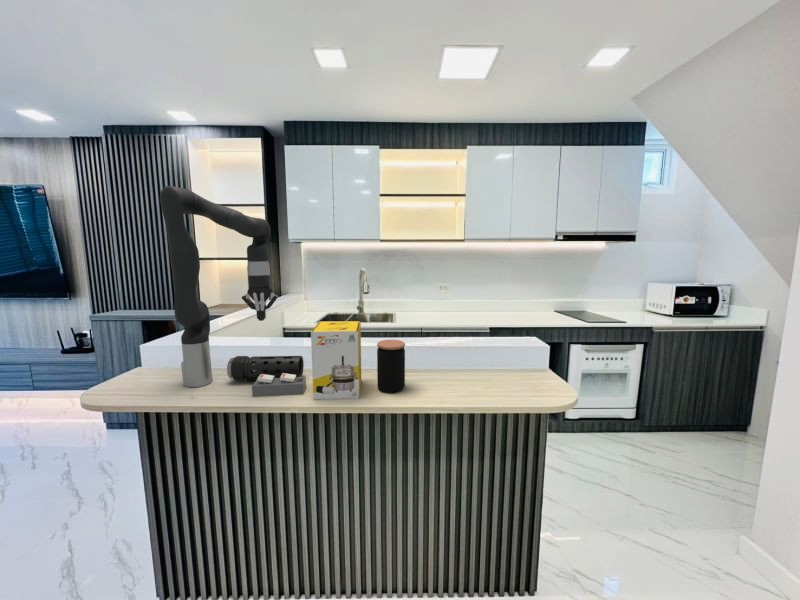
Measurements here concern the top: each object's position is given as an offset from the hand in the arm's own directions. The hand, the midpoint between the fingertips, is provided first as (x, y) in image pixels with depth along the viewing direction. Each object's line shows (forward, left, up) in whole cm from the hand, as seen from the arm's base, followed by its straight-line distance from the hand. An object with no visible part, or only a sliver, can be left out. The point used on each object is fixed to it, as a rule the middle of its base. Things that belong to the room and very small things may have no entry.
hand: (261, 320), depth 123 cm
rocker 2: (+9, -3, -22) cm, 24 cm away
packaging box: (+28, -4, -27) cm, 39 cm away
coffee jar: (+48, -5, -27) cm, 55 cm away
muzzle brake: (-2, +9, -27) cm, 29 cm away
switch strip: (+6, -3, -27) cm, 28 cm away
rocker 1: (+1, -3, -22) cm, 23 cm away
